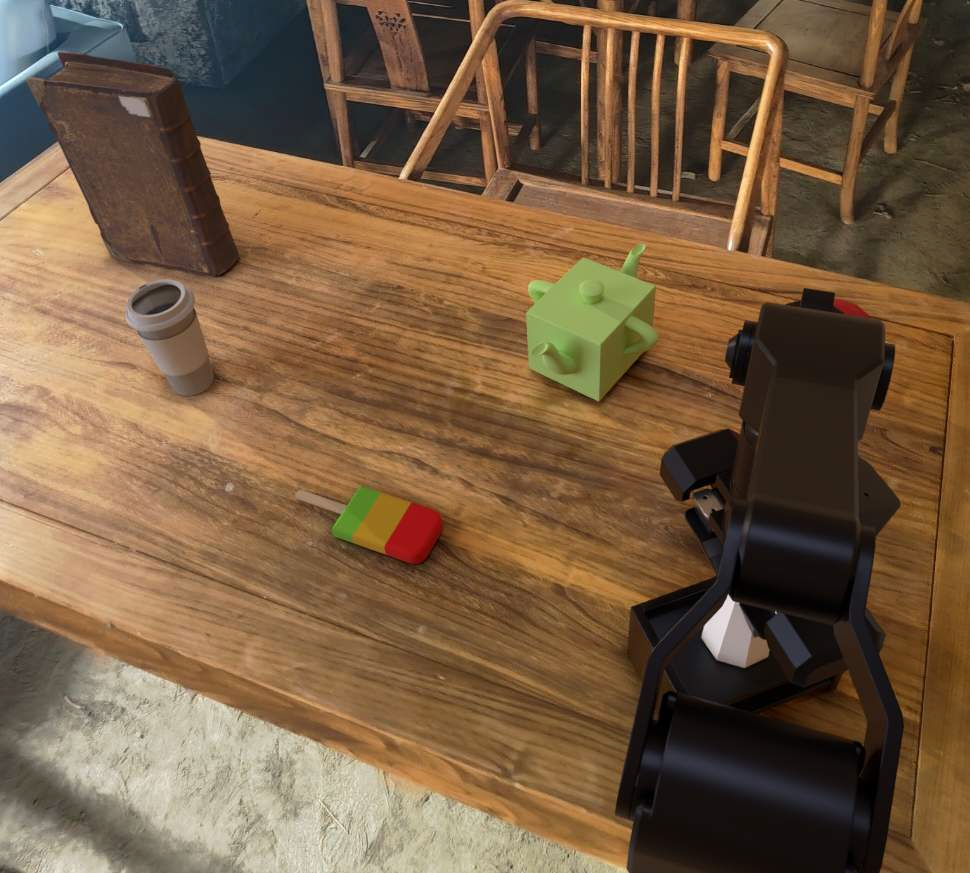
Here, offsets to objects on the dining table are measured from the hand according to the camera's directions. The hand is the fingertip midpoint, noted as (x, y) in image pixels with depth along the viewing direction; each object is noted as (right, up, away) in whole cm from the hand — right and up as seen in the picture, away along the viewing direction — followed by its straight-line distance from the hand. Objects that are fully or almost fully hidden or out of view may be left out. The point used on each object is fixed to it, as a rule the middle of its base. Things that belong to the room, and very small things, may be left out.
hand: (745, 610), depth 68 cm
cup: (-51, +19, +35) cm, 65 cm away
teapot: (-8, +21, +32) cm, 39 cm away
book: (-58, +35, +49) cm, 84 cm away
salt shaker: (0, -3, +3) cm, 4 cm away
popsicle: (-30, +5, +20) cm, 37 cm away
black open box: (+1, -6, +7) cm, 10 cm away
